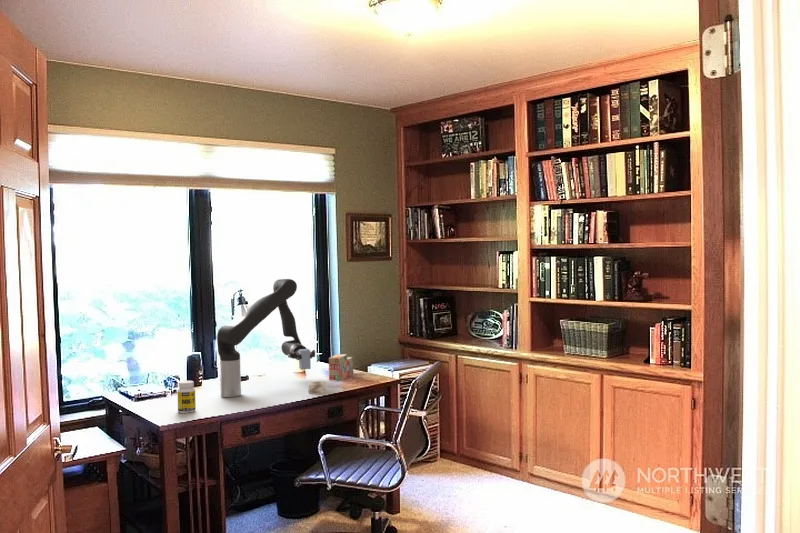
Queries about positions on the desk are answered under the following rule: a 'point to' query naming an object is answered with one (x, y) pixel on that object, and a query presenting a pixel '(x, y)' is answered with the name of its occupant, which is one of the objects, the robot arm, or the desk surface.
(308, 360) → the slate block
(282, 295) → the robot arm
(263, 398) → the desk surface
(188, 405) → the supplement bottle
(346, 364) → the stack of blocks
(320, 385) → the cream base block
